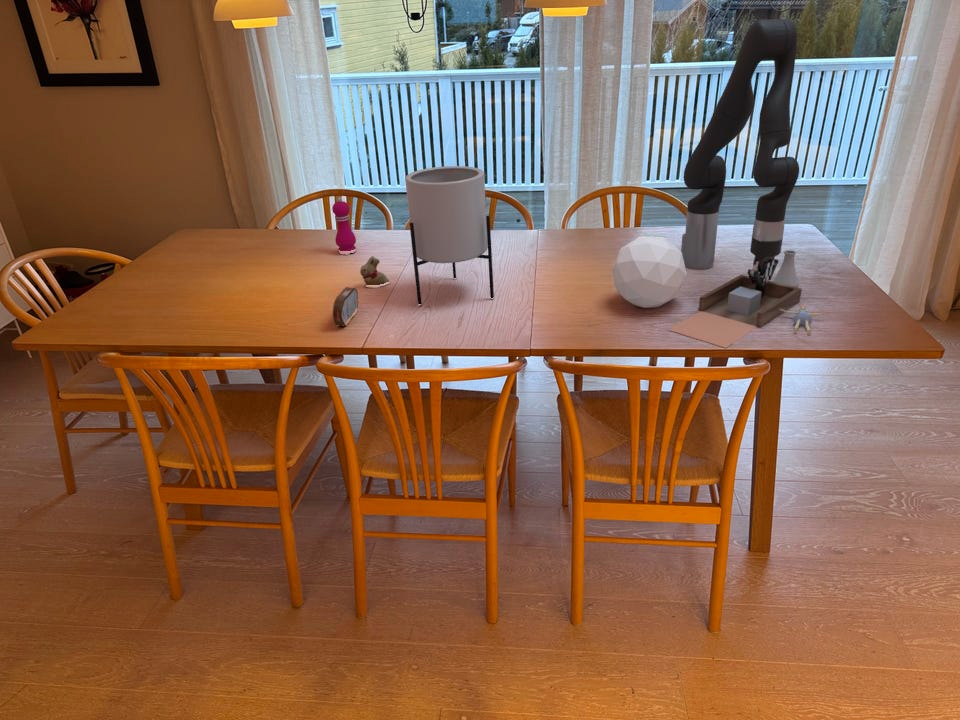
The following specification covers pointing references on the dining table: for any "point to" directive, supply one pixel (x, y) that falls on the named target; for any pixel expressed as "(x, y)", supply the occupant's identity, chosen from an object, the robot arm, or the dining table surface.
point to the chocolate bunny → (372, 273)
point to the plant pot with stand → (448, 217)
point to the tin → (345, 305)
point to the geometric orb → (649, 271)
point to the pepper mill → (343, 226)
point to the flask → (787, 270)
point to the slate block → (744, 301)
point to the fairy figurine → (802, 319)
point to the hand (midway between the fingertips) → (759, 297)
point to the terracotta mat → (713, 329)
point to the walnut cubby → (769, 304)
